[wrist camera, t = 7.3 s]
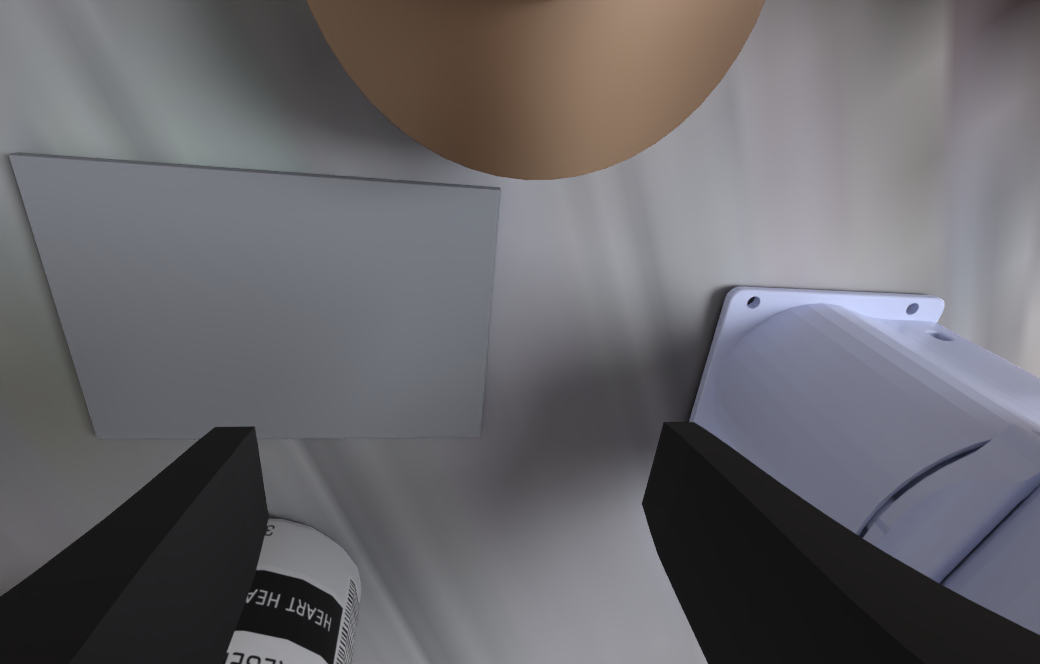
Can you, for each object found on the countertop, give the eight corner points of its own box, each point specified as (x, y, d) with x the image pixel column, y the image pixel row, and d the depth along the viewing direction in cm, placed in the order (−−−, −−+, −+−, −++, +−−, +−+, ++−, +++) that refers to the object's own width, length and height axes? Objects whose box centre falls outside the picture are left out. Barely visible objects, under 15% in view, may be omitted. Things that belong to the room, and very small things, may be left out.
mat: (499, 187, 18) (500, 190, 17) (479, 431, 22) (480, 437, 22) (18, 152, 15) (8, 154, 15) (103, 432, 20) (97, 439, 20)
